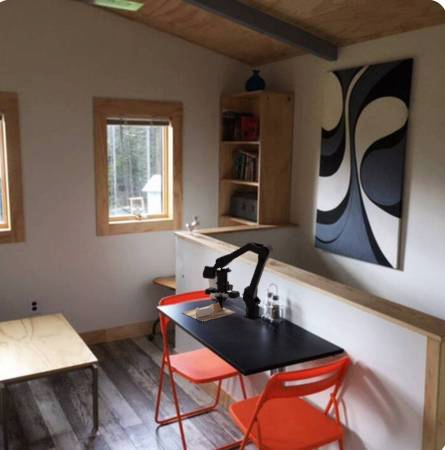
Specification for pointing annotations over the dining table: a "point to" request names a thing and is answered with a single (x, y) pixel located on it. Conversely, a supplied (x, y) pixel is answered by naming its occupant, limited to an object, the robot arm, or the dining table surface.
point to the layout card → (218, 314)
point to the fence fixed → (205, 311)
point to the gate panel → (217, 307)
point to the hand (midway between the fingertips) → (222, 308)
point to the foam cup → (213, 286)
